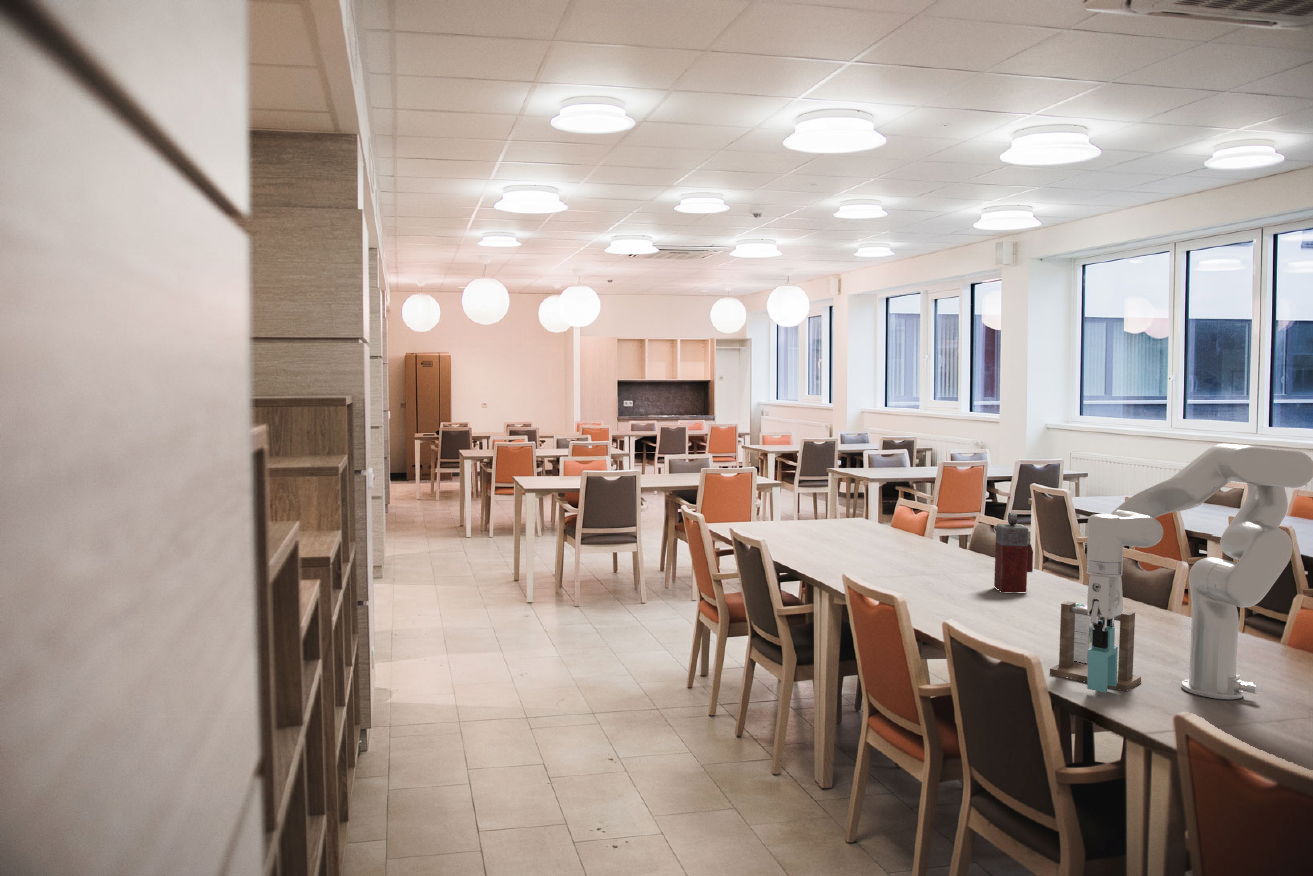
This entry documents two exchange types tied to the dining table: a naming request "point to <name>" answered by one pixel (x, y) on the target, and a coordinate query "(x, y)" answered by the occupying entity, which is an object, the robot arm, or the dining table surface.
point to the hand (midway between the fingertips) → (1103, 645)
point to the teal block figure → (1103, 664)
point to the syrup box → (1082, 635)
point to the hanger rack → (1081, 671)
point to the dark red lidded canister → (1012, 556)
